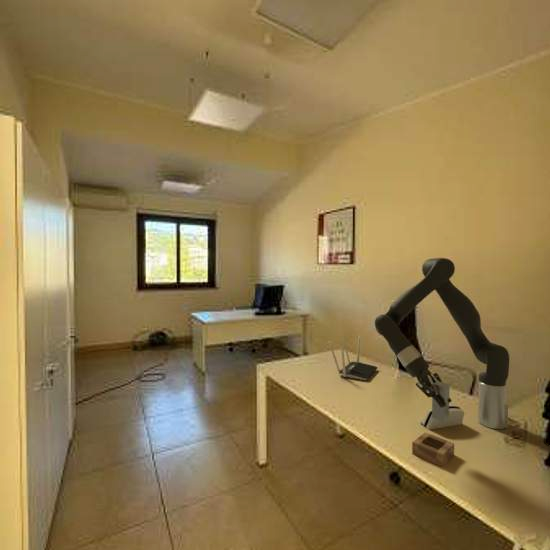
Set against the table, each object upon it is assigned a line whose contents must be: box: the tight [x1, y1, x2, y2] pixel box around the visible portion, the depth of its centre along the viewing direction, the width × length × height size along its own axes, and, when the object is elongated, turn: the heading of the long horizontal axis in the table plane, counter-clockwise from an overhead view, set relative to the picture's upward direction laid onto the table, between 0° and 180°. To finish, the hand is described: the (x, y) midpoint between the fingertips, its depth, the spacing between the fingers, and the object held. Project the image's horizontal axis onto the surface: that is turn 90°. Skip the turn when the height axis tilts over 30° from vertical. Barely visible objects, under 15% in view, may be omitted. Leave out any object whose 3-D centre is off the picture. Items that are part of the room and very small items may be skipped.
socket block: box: [411, 431, 455, 468], centre depth 110 cm, size 10×10×4 cm
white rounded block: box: [419, 403, 465, 430], centre depth 130 cm, size 17×5×10 cm, turn 104°
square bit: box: [431, 381, 450, 422], centre depth 110 cm, size 4×4×12 cm
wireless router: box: [329, 334, 378, 381], centre depth 195 cm, size 34×23×20 cm
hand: (446, 404), depth 109 cm, fingers closed on square bit, 4 cm apart
